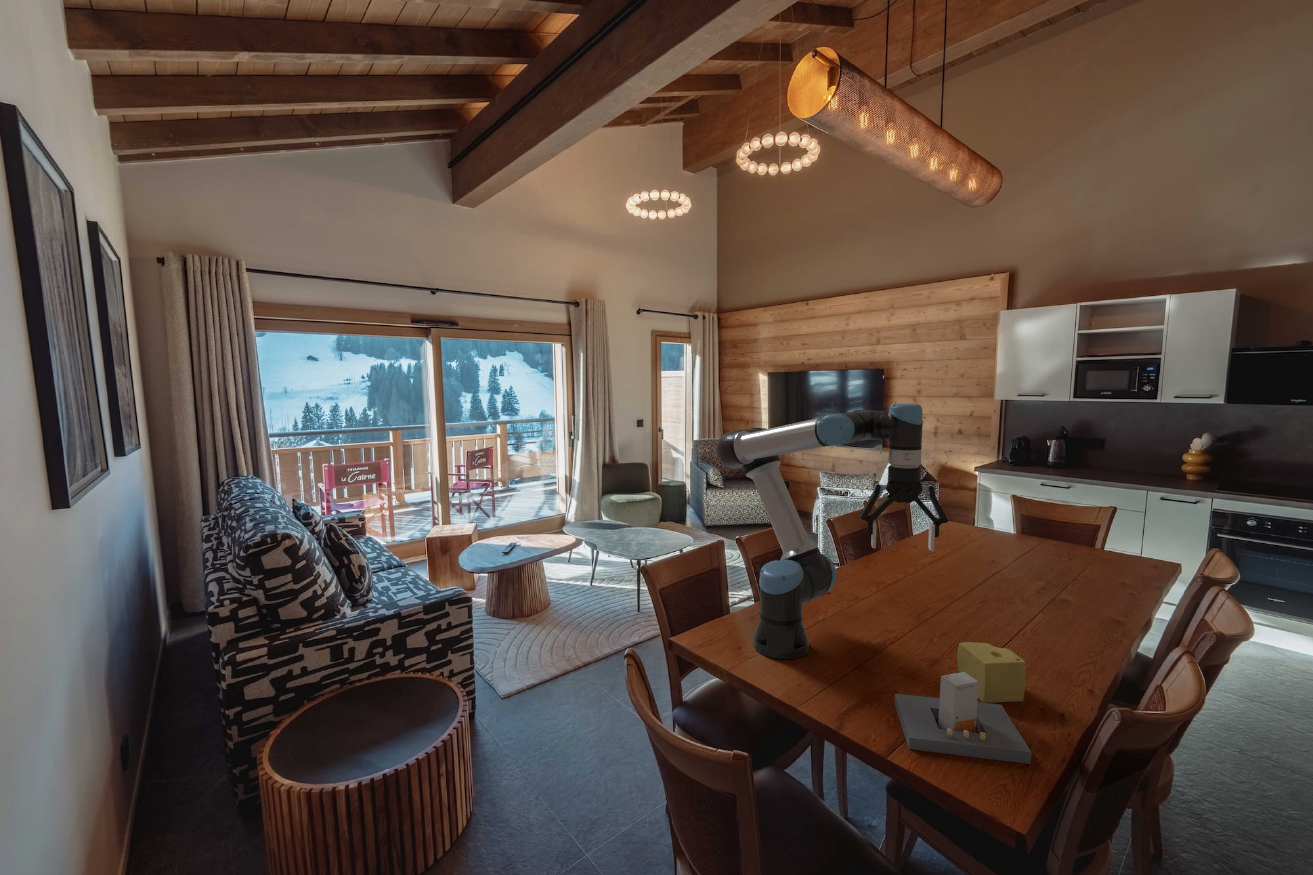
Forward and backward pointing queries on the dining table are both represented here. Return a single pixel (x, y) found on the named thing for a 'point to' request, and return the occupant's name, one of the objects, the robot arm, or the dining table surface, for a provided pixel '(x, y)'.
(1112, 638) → the dining table surface
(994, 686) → the cheese
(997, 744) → the grey frame plate
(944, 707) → the skincare box
